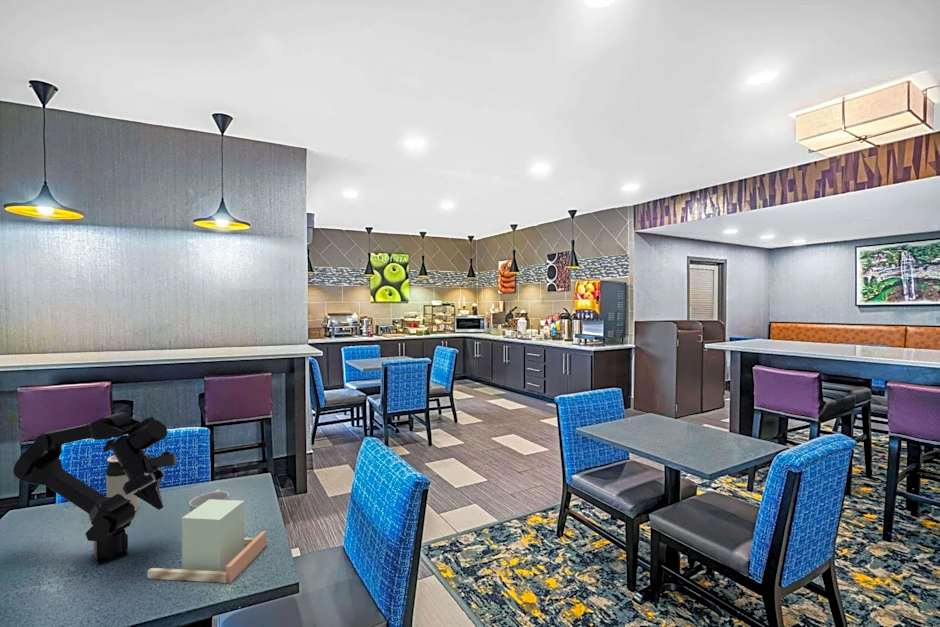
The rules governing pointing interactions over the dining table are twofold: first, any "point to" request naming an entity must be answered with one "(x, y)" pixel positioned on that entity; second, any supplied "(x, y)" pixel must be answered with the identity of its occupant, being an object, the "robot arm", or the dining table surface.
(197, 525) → the sage block
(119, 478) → the travel mug
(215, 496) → the teacup
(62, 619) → the dining table surface
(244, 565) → the guide chute
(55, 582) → the dining table surface
